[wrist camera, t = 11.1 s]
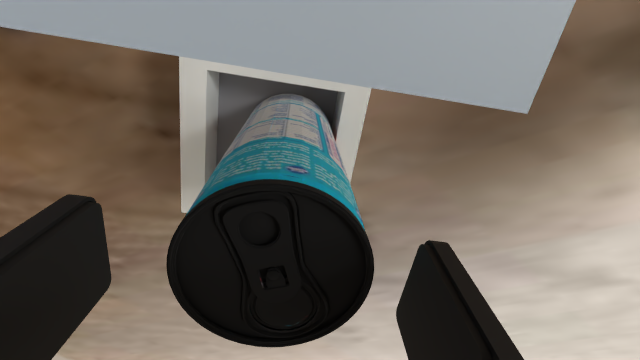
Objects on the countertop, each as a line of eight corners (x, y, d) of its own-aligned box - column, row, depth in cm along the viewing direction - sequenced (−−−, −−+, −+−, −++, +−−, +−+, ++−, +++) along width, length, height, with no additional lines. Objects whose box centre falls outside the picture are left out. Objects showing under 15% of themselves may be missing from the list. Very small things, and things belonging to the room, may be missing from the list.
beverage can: (250, 171, 24) (184, 352, 10) (244, 91, 21) (144, 185, 8) (329, 171, 24) (367, 344, 10) (331, 91, 22) (384, 182, 8)
